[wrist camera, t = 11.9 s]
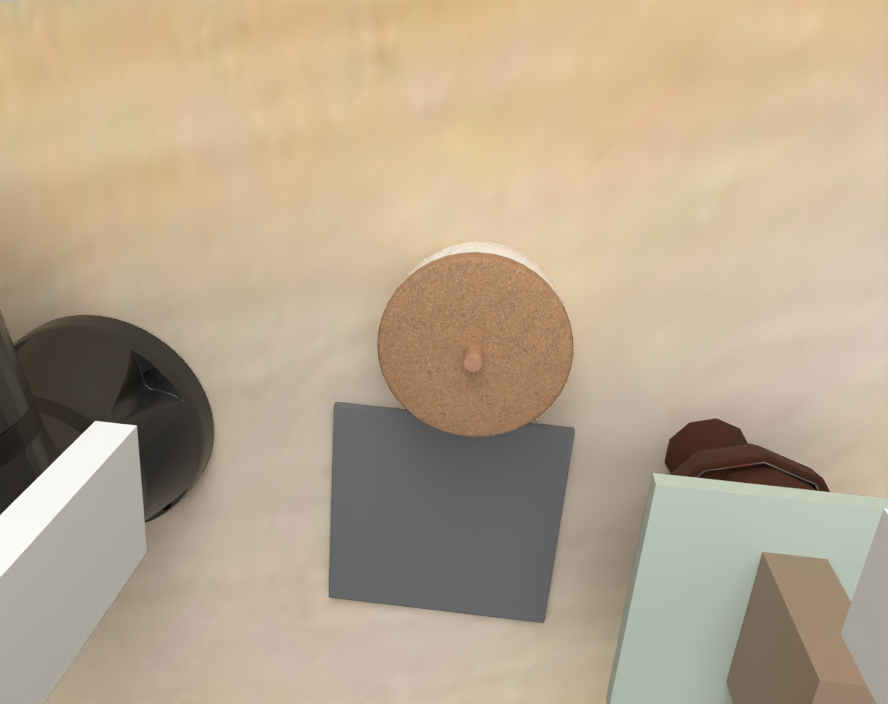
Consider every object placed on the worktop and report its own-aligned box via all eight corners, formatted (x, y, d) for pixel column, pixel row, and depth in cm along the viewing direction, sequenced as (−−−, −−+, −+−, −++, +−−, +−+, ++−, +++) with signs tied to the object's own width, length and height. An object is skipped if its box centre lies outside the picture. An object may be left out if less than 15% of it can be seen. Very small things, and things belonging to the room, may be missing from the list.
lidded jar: (373, 247, 51) (343, 297, 43) (541, 199, 49) (545, 241, 41) (425, 397, 55) (408, 471, 46) (584, 358, 53) (597, 427, 44)
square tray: (330, 592, 62) (328, 597, 61) (336, 402, 56) (334, 405, 55) (543, 617, 61) (543, 622, 61) (573, 427, 55) (574, 432, 54)
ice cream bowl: (669, 547, 58) (716, 718, 44) (596, 423, 55) (622, 566, 41) (816, 487, 55) (915, 649, 41) (749, 352, 52) (832, 479, 38)
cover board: (606, 697, 44) (626, 856, 36) (652, 473, 39) (689, 601, 30) (872, 729, 44) (954, 899, 35) (958, 506, 38) (1080, 645, 30)
